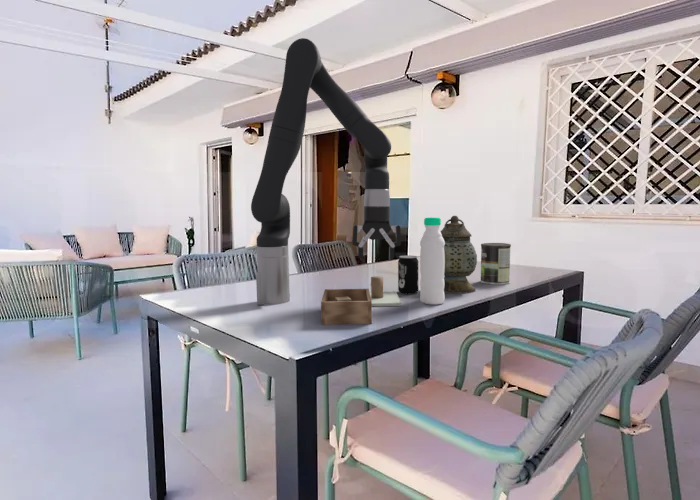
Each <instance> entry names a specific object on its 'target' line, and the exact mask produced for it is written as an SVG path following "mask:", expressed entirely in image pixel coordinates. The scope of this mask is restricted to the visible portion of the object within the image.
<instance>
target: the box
mask: <svg viewBox="0 0 700 500" xmlns="http://www.w3.org/2000/svg"><path fill="white" fill-rule="evenodd" d="M370 292H371V291H370V289H369V288H329V289H324V291H323V294H322V297H321V298H322V299H321V300H320V315H321V316H320V318H321V319H320V321H321V323H320V324H321V325H322V326H327V325H328V326H329V325H331V326H332V325H372V324H373V322H372V321H373V314H372V313H373V312H372V311H373V308H372V307H373V306H372V301H371V297H370ZM347 296H348V297H349V298H351V301H335V297H347Z"/></svg>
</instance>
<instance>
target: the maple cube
mask: <svg viewBox="0 0 700 500" xmlns="http://www.w3.org/2000/svg"><path fill="white" fill-rule="evenodd" d="M335 301H351V298H349V297H348V296H347V297H335Z"/></svg>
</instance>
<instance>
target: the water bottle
mask: <svg viewBox="0 0 700 500" xmlns="http://www.w3.org/2000/svg"><path fill="white" fill-rule="evenodd" d="M441 223H442V221H441V218H440V217H439V216H438V217H433V216H431V217H424V220H423V225H424V227H425V230H424V232H423V233H422V234H423V235H422V237H421V238H420V241H419V245H420V258H419V259H420V261H419V266H420V269H419V273H420V282H419V286H420V293H419V300H420V302H422V304H424V305H431V306H437V305H441V304H443V303H444V302H445V293H444V285H445V283H444V277H445V276H444V270H445V254H444V246H445V241H444V239H443V237H442V234H441V232H440V231H441V230H440V228H441Z"/></svg>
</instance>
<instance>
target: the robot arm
mask: <svg viewBox="0 0 700 500" xmlns="http://www.w3.org/2000/svg"><path fill="white" fill-rule="evenodd" d="M285 55H286V56H285V62H284V63H285V65H284V72H283V80H282V86H281V91H280V94H279V97H278V102H277V104H276V107H275V110H274V114H273V115H274V116H273V119H272V123H271V126H270V131H269V135H268V139H267V140H268V141H267V144H266V150H265V154H264V158H263V161H262V162H263V163H262V168H261V172H260V176H259V178H258V182H257V185H256V187H255V190H254V193H253V196H252V200H251V204H250V210H251V214H252V216H253V218H254V219H255V221H256V222H259V223H261V228H260V232H259V234H258V235H257V237H256V259H257V260H256V262H257V263H256V265H257V272H255V273H256V274H255V279H256V280H255V282H256V284H255V285H256V305H259V306H264V305H281V304H286V303H289V302H290V301H291V292H290V291H291V290H290V268H289V267H290V266H289V265H290V264H289V263H290V261H289V260H290V259H289V238H290V234H291V206H290V202H289V199H288V198H287V197H286V196H285V195H284V194H283V188H284V184H285V180H286V177H287V175H288V173H289V171H290V169H291V168H292V165H294V162H295V161H296V159H297V156H298V155H299V152H300V150H301V146H302V142H303V138H304V133H305V127H306V118H307V108H308V107H307V105H308V98H309V97H308V96H309V93H310V89H311V90H312V91H313V92H314V93H315V94H316V95H317V96H318V97H319V98H320V99H321V101H322V102H323V103H324V104H325V105H326V107H327V108H328V110H330V112H331V113H332V114H333V115H334V117H335V118H336V120H337V121H338V122H339V123H340V125H342V127H343V128H344V129H345V130H346V131H347V133H348V134H349V135H350V136H351V137H352V138H355V139H356V140H358V142H359V143H360V144H361V145H362V147H363V148H364V152H363V153H364V166H365V177H364V197H363V224H362V225H357V224H353V227H352V241H351V242H352V245H353V246H355V247H357V248H358V249H357V250H358V251H357V253H358V255H357V256H358V259H360V261H364V245H365V244H366V242H368V241H369V240H371V241H374V240H379V241H380V240H381V241H382V240H384V239H385V241H386V242H387V244H388V245H389V247H388V260H389V261H393V259H394V258H395V248H396V247H400V246H401V245H402V235H401V225H399V224H397V225H391V224H390V223H391V222H390V214H391V213H390V212H391V211H390V209H391V208H390V207H391V200H390V199H391V195H390V174H389V173H390V172H389V171H388V170H389V169H388V157H389V155H390V154H391V150H392V142H391V141H390V139H389V137H388V135H386V133H385V132H384V131H383V130H382V129H381V128H380V127H378V126H377V125H376V124H375V123H374V122H373V121H372V120H371V119H370V118H369V117H368V115H367V114H366V113H365V112H364V110H363V109H362V108H361V107H360V105H359V104H358V103H357V102H356V101H355V100H354V99H353V98H352V97H351V96H350V95H349V94H348V93H347V92H346V91H345V90H343V88H342V87H341V86H340V85H338V84H337V82H336V81H335V80H334V78H333V77H332V76H331V74H330V73H329V71H328V70H327V68H326V67H325V65H324V63H323V62H322V58H321V54H320V50H319V49H318V46H317V45H316V44H315V43H314V42H313V41H312V40H310V39H308V38H305V37H302V38H298V39H295V41H293V42H292V43H291V44H290V46H289V47H288V49H287V52H286V54H285ZM361 230H362V231H363V232H364V236H363V237H362V239H361V240H360V241H358V233H360V232H361ZM391 230H392V232H393V233H394V234H395V241H392V239H391V238H390V237H389V233H390V231H391Z"/></svg>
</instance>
